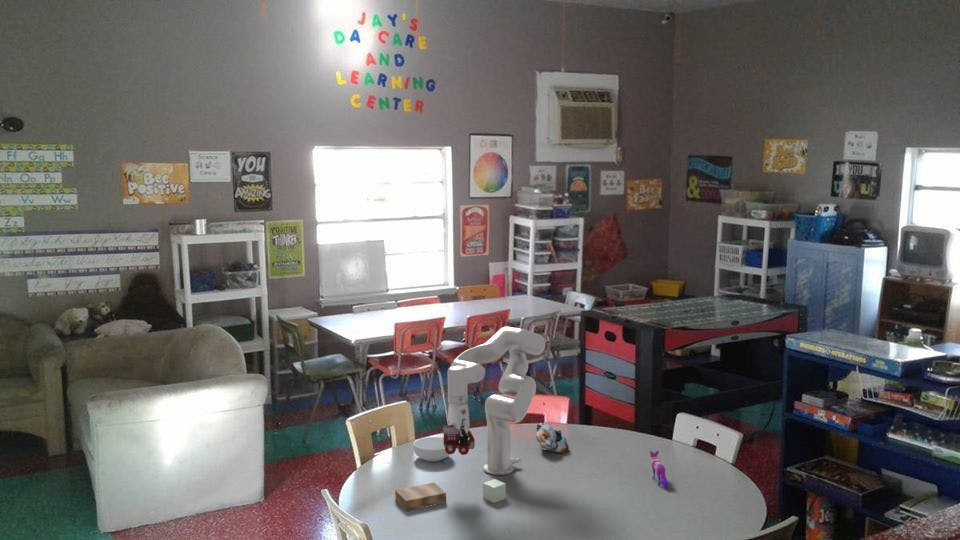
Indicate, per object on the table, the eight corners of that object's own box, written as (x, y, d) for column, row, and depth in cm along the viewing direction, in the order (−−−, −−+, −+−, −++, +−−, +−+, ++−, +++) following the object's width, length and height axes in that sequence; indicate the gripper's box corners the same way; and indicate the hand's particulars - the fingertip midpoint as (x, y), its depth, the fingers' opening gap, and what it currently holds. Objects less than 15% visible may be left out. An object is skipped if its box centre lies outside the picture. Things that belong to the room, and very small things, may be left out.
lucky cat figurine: (572, 453, 347) (562, 430, 341) (547, 464, 347) (536, 441, 341) (563, 433, 361) (553, 410, 354) (539, 443, 361) (529, 420, 354)
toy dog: (656, 472, 326) (656, 448, 325) (671, 490, 308) (672, 464, 307) (647, 472, 326) (647, 448, 324) (661, 490, 308) (662, 465, 306)
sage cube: (494, 493, 305) (494, 478, 304) (505, 498, 301) (505, 483, 300) (483, 498, 301) (483, 483, 300) (493, 503, 297) (493, 487, 296)
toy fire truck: (473, 455, 303) (472, 429, 301) (441, 454, 304) (440, 428, 303) (475, 448, 309) (475, 423, 308) (444, 447, 311) (443, 422, 309)
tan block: (434, 492, 307) (434, 482, 306) (446, 502, 297) (446, 492, 296) (395, 500, 299) (395, 490, 299) (406, 511, 290) (406, 501, 289)
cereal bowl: (460, 456, 344) (460, 440, 343) (438, 468, 330) (438, 452, 329) (428, 449, 353) (428, 433, 352) (405, 460, 339) (405, 444, 338)
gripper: (476, 403, 298) (477, 447, 300) (456, 391, 313) (457, 433, 315) (458, 406, 294) (459, 450, 297) (439, 393, 310) (440, 436, 312)
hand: (458, 441), depth 306 cm, fingers closed on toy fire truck, 8 cm apart
